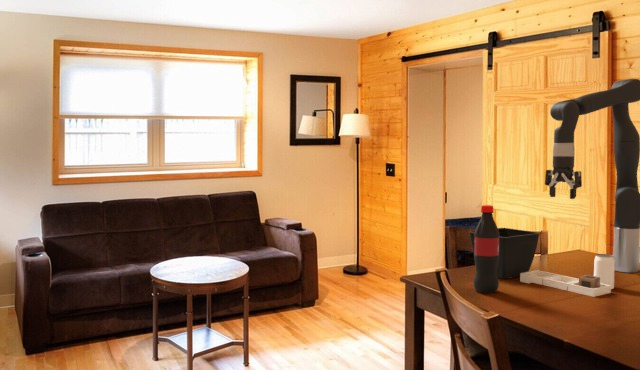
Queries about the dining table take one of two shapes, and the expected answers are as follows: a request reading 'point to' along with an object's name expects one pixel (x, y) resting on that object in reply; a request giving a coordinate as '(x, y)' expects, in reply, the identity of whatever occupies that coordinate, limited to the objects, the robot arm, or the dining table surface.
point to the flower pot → (514, 251)
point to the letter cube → (589, 281)
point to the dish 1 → (535, 276)
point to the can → (605, 269)
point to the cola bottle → (486, 252)
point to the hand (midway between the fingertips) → (562, 197)
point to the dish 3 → (589, 289)
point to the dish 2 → (559, 281)
